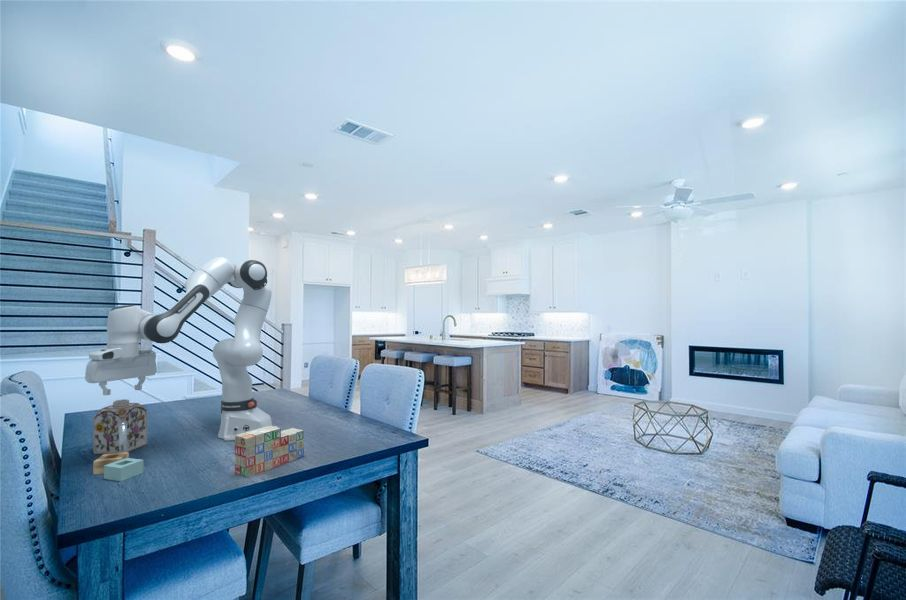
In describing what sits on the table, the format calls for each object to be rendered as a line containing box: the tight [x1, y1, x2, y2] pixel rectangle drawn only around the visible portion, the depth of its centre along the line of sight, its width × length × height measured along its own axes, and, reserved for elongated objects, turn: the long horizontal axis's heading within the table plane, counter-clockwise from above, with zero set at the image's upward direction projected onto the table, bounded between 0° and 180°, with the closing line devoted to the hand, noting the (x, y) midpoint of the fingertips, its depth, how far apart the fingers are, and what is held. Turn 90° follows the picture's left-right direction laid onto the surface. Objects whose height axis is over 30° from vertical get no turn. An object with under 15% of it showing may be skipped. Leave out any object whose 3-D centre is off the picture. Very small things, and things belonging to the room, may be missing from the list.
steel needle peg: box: [119, 422, 127, 453], centre depth 147 cm, size 2×2×13 cm
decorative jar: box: [92, 399, 148, 455], centre depth 158 cm, size 12×12×18 cm
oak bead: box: [92, 452, 130, 475], centre depth 139 cm, size 7×7×4 cm
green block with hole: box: [103, 457, 144, 482], centre depth 133 cm, size 7×7×4 cm
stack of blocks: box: [234, 425, 305, 478], centre depth 142 cm, size 21×6×12 cm, turn 147°
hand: (122, 392), depth 147 cm, fingers open, 8 cm apart
